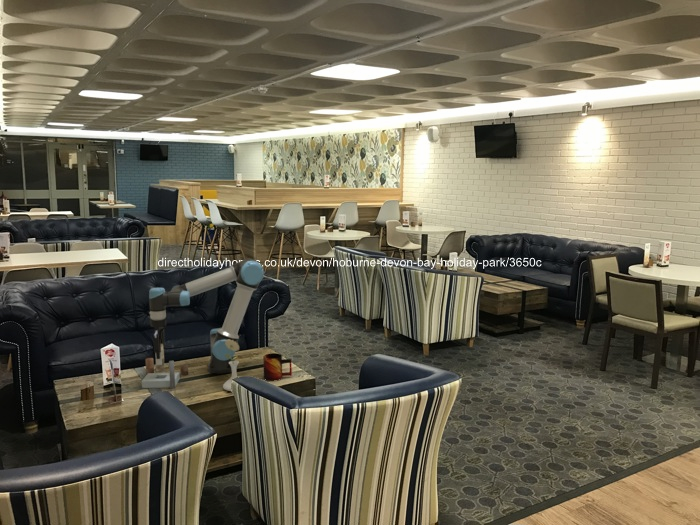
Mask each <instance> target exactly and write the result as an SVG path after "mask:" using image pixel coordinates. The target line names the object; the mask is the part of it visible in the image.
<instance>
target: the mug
mask: <svg viewBox="0 0 700 525" xmlns="http://www.w3.org/2000/svg"><path fill="white" fill-rule="evenodd" d="M262 361H263V362H262V363H263V379H264V380H265V379H266V380H265V381H267V382H275V381H274V380H277V381H280V380H282V379H283V377H284V376H285V377H286V376H289V377H290V376H293V374H292V372H293V370H292V369H293V368H292V358H286V359H285V358H284V359H283V355H282V354H281V353H276V352H275V353H273V352H272V353H271V352H270V353H267V354H264V355H263V360H262ZM287 363H289V372H288V371H287V372H283V364H287ZM281 378H282V379H281ZM279 379H280V380H279Z"/></svg>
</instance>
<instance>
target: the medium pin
mask: <svg viewBox="0 0 700 525" xmlns="http://www.w3.org/2000/svg"><path fill="white" fill-rule="evenodd" d="M145 373H146V374H145V376H146V375H147V374H148V373H155V365H154V357H147V358H145Z"/></svg>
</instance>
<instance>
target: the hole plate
mask: <svg viewBox="0 0 700 525" xmlns="http://www.w3.org/2000/svg"><path fill="white" fill-rule="evenodd" d="M168 368H169V369H168V370H169V372H154V373H148V374H147V375H146V374H145V377H144V378H143V379H141V388H142V389H154V388H159V389H160V388H169V389H170V390H175V389H176V386H177V384H178V383H179V380H180V379H181V378H180V376H181V372H175V361H174V360H169V361H168Z"/></svg>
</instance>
